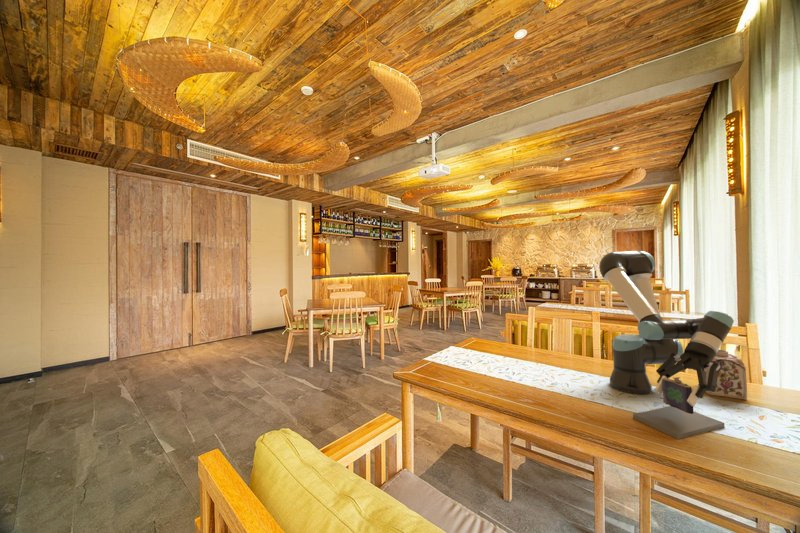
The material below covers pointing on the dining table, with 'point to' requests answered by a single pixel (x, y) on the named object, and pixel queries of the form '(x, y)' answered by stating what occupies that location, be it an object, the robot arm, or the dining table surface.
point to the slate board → (678, 422)
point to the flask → (677, 394)
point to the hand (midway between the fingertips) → (673, 397)
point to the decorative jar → (729, 376)
